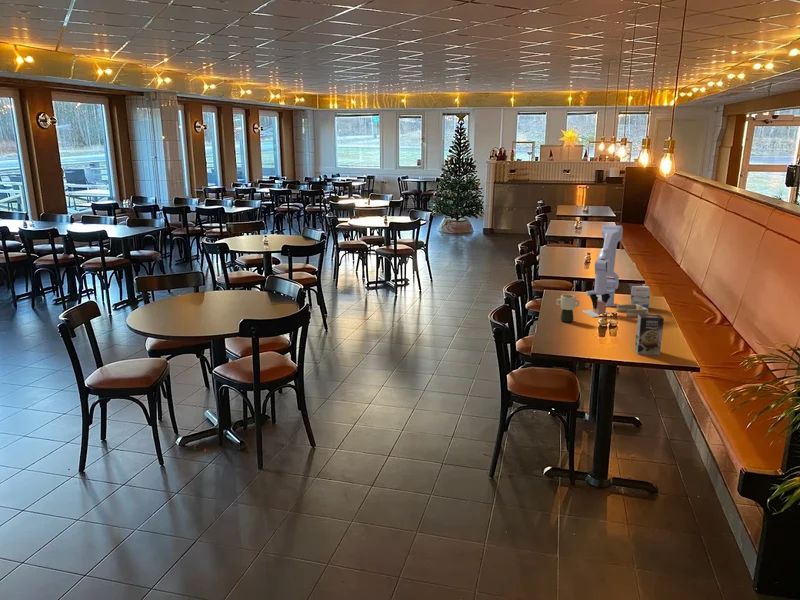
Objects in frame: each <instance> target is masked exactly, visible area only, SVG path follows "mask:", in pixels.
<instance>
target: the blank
mask: <svg viewBox="0 0 800 600" xmlns="http://www.w3.org/2000/svg"><path fill="white" fill-rule="evenodd" d="M606 309H607V307H606V303H605V302H603V301H601V300H597V307H596V309H594V308H593V307H592V310H593V312H594V313H596V314H598V315H600V314H602V313H605V312H606V311H607V310H606Z"/></svg>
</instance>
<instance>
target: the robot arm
mask: <svg viewBox="0 0 800 600" xmlns="http://www.w3.org/2000/svg"><path fill="white" fill-rule="evenodd" d="M623 227H624V226H623V225H613V224H610V225H609V224H604V225H602V228H601V235H602V238H603V240H604V241H603V247H602V248H601V249H600V250H599V254H598V257H597V259H596V260H595V262H594V274H595V277H594V288H593V289H594V290H586V291H585V295H586V296H589V298H590V300H591V303H592V309H593V308H594V309H596V307H597V300H601V301H603V302H605V303H606V308H607V307H617V305H618V304H616V303H615V294H616V293H615V292H616V290H617V289H618V288H619V283H620V281H619V277H620V276H619V274H617V273H616V272H615V266H616V264H615V263H616V256H617V249H618V248H617V246H618V243H619V242H621V241H622V239H623V233H624V232H623V231H624V229H623Z"/></svg>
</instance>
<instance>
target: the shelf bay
mask: <svg viewBox="0 0 800 600" xmlns="http://www.w3.org/2000/svg"><path fill="white" fill-rule="evenodd" d="M616 305H617V306H616V312H617V313H621V312H626V316H625V317H626V318H634V317H635V318H638V314H648V315H649V308H648V309H646V308H644V307H642V306H640V305H638V304H630V303H628V304H616Z"/></svg>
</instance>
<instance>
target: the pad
mask: <svg viewBox="0 0 800 600" xmlns="http://www.w3.org/2000/svg"><path fill="white" fill-rule="evenodd" d="M582 312H583V313H585V314H586V315H588V316H590V317H591V318H600V317H599V316H600V315H598V314H596V313H594V312H593V309H584V310H582ZM605 313H606V314H610V313H611V312H610V311H608V310H606V312H605Z"/></svg>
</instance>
